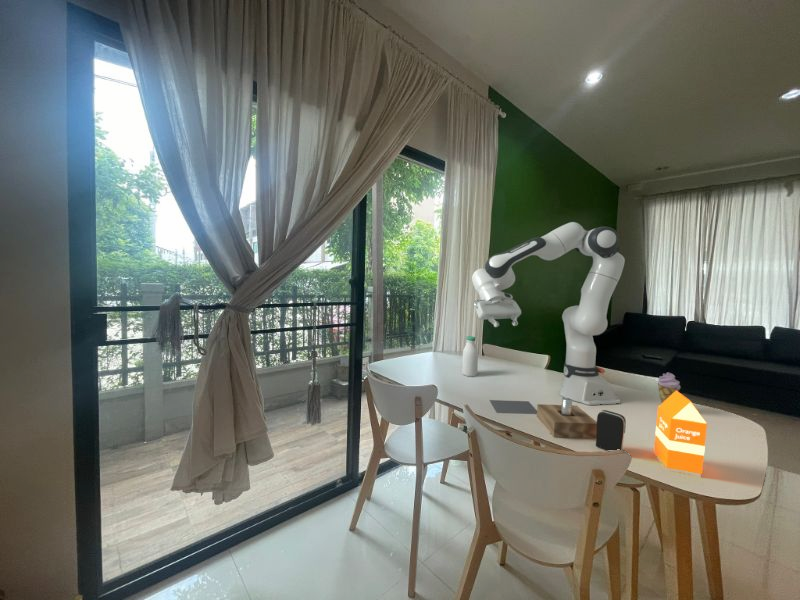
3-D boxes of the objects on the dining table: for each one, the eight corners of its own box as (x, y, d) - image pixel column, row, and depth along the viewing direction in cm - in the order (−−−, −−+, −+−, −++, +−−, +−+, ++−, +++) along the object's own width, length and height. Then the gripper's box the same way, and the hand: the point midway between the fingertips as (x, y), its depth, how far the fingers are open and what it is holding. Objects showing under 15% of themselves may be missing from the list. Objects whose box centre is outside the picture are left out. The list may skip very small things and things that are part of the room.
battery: (624, 451, 94) (627, 414, 93) (621, 456, 92) (624, 418, 91) (598, 442, 100) (601, 407, 99) (594, 446, 97) (596, 410, 96)
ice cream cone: (674, 409, 125) (678, 372, 124) (680, 415, 120) (684, 376, 119) (653, 405, 128) (656, 369, 127) (658, 411, 123) (661, 374, 121)
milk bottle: (478, 377, 161) (480, 338, 159) (463, 376, 161) (464, 338, 159) (475, 372, 168) (476, 335, 167) (460, 372, 169) (462, 335, 167)
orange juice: (665, 470, 86) (672, 398, 84) (653, 453, 94) (658, 387, 92) (702, 477, 83) (710, 403, 81) (686, 459, 91) (692, 391, 89)
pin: (567, 425, 110) (569, 397, 109) (571, 429, 107) (573, 401, 106) (558, 425, 110) (560, 397, 110) (562, 429, 107) (564, 401, 107)
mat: (528, 402, 130) (528, 401, 130) (540, 415, 118) (540, 414, 118) (489, 401, 131) (489, 400, 131) (496, 413, 119) (496, 412, 119)
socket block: (575, 418, 116) (576, 405, 115) (597, 438, 102) (598, 423, 101) (536, 417, 116) (537, 404, 116) (553, 437, 102) (554, 422, 102)
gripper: (475, 295, 131) (489, 322, 123) (514, 294, 139) (530, 320, 131) (469, 304, 136) (481, 331, 128) (507, 303, 143) (521, 328, 135)
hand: (506, 325), depth 129 cm, fingers open, 8 cm apart
